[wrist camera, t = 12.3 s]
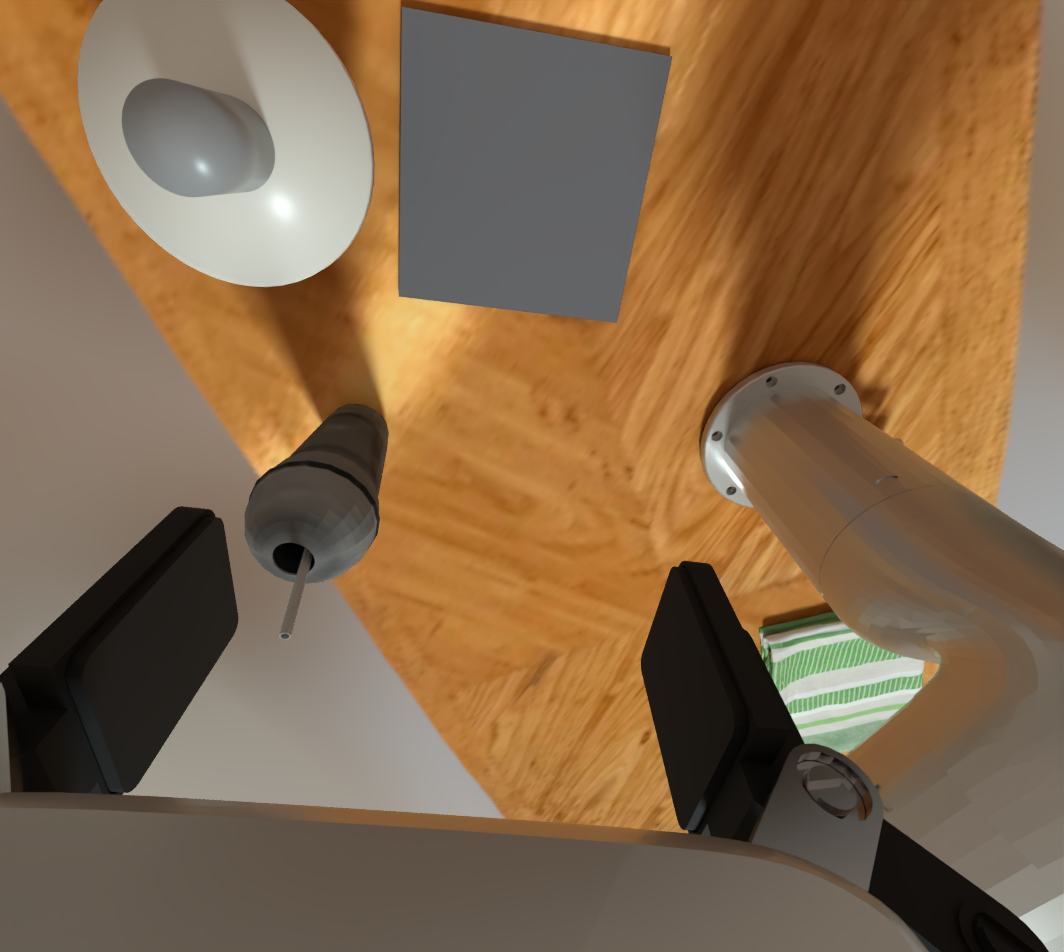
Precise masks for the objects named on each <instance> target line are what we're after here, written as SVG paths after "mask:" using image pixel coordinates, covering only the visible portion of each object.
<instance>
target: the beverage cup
mask: <svg viewBox="0 0 1064 952" xmlns="http://www.w3.org/2000/svg"><path fill="white" fill-rule="evenodd" d="M388 434H389V433H388V428H387V425H386V423H385V421H384V419H383V418H382V417H381V416H380V415H379V414H378V413H377V412H376V411H375V410H373V409H371V408H369V407H367V406H364V405H359V404H351V405H345V406H343V407H340V408H338V409H337V410H336V411H335V412H334V413H333V414H331V415H330V416H329V417H328V418H327V419H326V420H325V421H324V422H323V423H322V424H321V425H320V426H319V427H318V428H317V429H316V430H315V431H314V432H313V433H312V434H311V435H310V436H309V437H308V438H307V439H306V440H305V441H304V442H303V444H302V445H301V446H300V447H299V448H298V449H297V450H296V451H295V452H294V453H293V454H292V455H291V456H290V457H289V458H287V459H285V460H284V461H282V462H281V463H280V464H278V465H277V466H276V467H274V468H272V469H270V470H268V471H267V472H266V473H265V474H264V475H263V476H262V477H261V478H259V479H258V480H257V482H256V484H255V486H254V488H253V490H252V492H251V495H250V497H249V503H248V505H247V508H246V511H245V537H246V540H247V543H248V546H249V548H250V550H251V553H252V554H253V556H254V557H255V559H256V560H257V561H258V562H259V563H260V564H261V566H262V567H263V568H264V569H266V570H267V571H269V572H270V573H271V574H273V575H274V576H276V577H279V578H281V579H284V580H286V581H289V582H295V583H294V587H293V590H292V593H291V597H290V600H289V604H288V607H287V611H286V614H285V617H284V621H283V624H282V628H281V631H280V635H279V637H280V638H281V639H283V640H288V639H290V637H291V634H292V630H293V626H294V623H295V619H296V615H297V611H298V608H299V604H300V600H301V597H302V593H303V590H304V586H305V584H308V583H319V582H324V581H327V580H330V579H332V578H335V577H338V576H340V575H342V574H343V573H345V572H346V571H347V570H348V569H350V568H351V567H352V566H354V565H355V564H356V563H357V562H359V561H360V559H361V558H362V557H363V555H364V554H365V552H366V551H367V550H368V548H369V547H370V546H371V544H372V542H373V541H374V539H375V537H376V536H377V534H378V528H379V521H380V517H379V500H378V494H379V489H380V483H381V478H382V473H383V467H384V462H385V457H386V451H387V444H388Z"/></svg>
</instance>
